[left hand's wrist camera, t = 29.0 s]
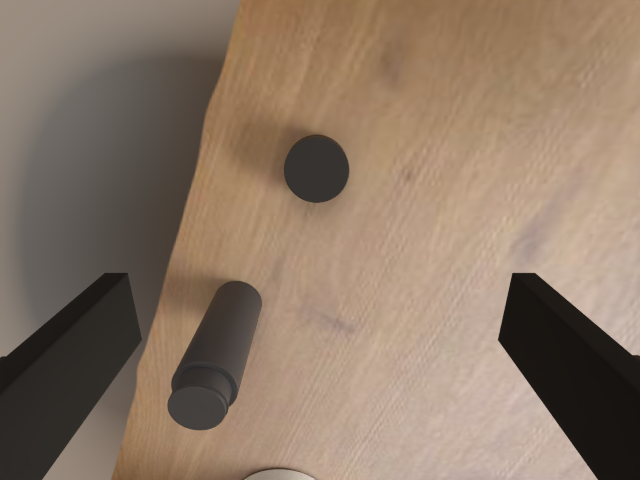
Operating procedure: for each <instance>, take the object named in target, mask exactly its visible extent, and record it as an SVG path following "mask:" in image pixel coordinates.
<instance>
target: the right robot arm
mask: <svg viewBox="0 0 640 480" xmlns="http://www.w3.org/2000/svg"><path fill="white" fill-rule="evenodd" d="M244 480H315V479H314V478H312V477H310V476H308V475H306V474H303V473H300V472H297V471H292V470H285V469H274V470H266V471H262V472H258V473H255V474H253V475H251V476H249V477H247V478H246V479H244Z"/></svg>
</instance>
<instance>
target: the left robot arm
mask: <svg viewBox="0 0 640 480" xmlns="http://www.w3.org/2000/svg"><path fill="white" fill-rule="evenodd" d="M141 341H142V338H141V333H140V328H139V324H138V319H137V315H136V310H135V305H134V301H133V296H132V292H131V287H130V283H129V278H128V273H104V274H103V275H102V276H101V277H100V278H99V279H97V280H96V281H95V282H94V283H93V284H91V285H90V286H89V287H88V288H87V289H86V290H84V291H83V292H82V293H81V294H80V295H78V296H77V297H76V298H75V299H74V300H73V301H71V302H70V303H69V304H68V305H67V306H65V307H64V308H63V309H62V310H61V311H60V312H58V313H57V314H56V315H55V316H54V317H52V318H51V319H50V320H49V321H48V322H47V323H45V324H44V325H43V326H42V327H41V328H39V329H38V330H37V331H36V332H35V333H33V334H32V335H31V336H30V337H29V338H28V339H26V340H25V341H24V342H23V343H22V344H21V345H19V346H18V347H17V348H16V349H15V350H13V351H12V352H11V353H10V354H9V355H7V356H6V357H1V358H0V480H42V479H43V477H44V476H45V475H46V473H47V472H48V471H49V469H50V468H51V466H52V465H53V464H54V462H55V461H56V459H57V458H58V457H59V455H60V454H61V452H62V451H63V450H64V448H65V447H66V445H67V444H68V443H69V441H70V440H71V438H72V437H73V436H74V434H75V433H76V431H77V430H78V429H79V427H80V426H81V424H82V423H83V422H84V420H85V419H86V417H87V416H88V415H89V413H90V412H91V410H92V409H93V408H94V406H95V405H96V403H97V402H98V401H99V399H100V398H101V396H102V395H103V394H104V392H105V391H106V390H107V388H108V387H109V385H110V384H111V383H112V381H113V380H114V378H115V377H116V375H117V374H118V373H119V371H120V370H121V369H122V367H123V366H124V364H125V363H126V362H127V360H128V359H129V357H130V356H131V355H132V353H133V352H134V350H135V349H136V348H137V346H138V345H139V343H140V342H141ZM498 341H499V342H500V343H501V345H502V346H503V348H504V349H505V350H506V352H507V353H508V355H509V356H510V357H511V359H512V360H513V362H514V363H515V364H516V366H517V367H518V369H519V370H520V371H521V373H522V374H523V376H524V377H525V378H526V380H527V381H528V383H529V384H530V385H531V387H532V388H533V390H534V391H535V392H536V394H537V395H538V397H539V398H540V399H541V401H542V402H543V403H544V405H545V406H546V408H547V409H548V410H549V412H550V413H551V415H552V416H553V417H554V419H555V420H556V422H557V423H558V424H559V426H560V427H561V429H562V430H563V431H564V433H565V434H566V436H567V437H568V438H569V440H570V441H571V443H572V444H573V445H574V447H575V448H576V450H577V451H578V452H579V454H580V455H581V457H582V458H583V459H584V461H585V462H586V464H587V465H588V466H589V468H590V469H591V471H592V472H593V473H594V475H595V476H596V478H597V479H598V480H640V356H639V355H631V354H630V353H629V352H628V351H627V350H625V349H624V348H623V347H622V346H621V345H620V344H618V343H617V342H616V341H615V340H614V339H612V338H611V337H610V336H609V335H608V334H607V333H605V332H604V331H603V330H602V329H601V328H599V327H598V326H597V325H596V324H595V323H593V322H592V321H591V320H590V319H589V318H588V317H586V316H585V315H584V314H583V313H582V312H580V311H579V310H578V309H577V308H576V307H575V306H573V305H572V304H571V303H570V302H569V301H567V300H566V299H565V298H564V297H563V296H562V295H560V294H559V293H558V292H557V291H556V290H554V289H553V288H552V287H551V286H550V285H549V284H547V283H546V282H545V281H544V280H543V279H541V278H540V277H539V276H538V275H537V274H536V273H512V278H511V282H510V287H509V292H508V296H507V301H506V305H505V310H504V315H503V319H502V324H501V328H500V333H499V338H498Z"/></svg>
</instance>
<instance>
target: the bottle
mask: <svg viewBox="0 0 640 480" xmlns="http://www.w3.org/2000/svg"><path fill="white" fill-rule="evenodd" d="M261 306H262V301H261V297H260V295H259V293H258V292H257V290H256V289H255V288H254V287H252V286H251V285H249V284H247V283H244V282H239V281H234V282H229V283H226V284H224V285H222V286H221V287H220V288H219V289H218V290H217V292H216V294H215V296H214V298H213V300H212V302H211V304H210V306H209V308H208V309H207V311H206V313H205V315H204V317H203V319H202V321H201V323H200V325H199V327H198V329H197V331H196V333H195V335H194V337H193V339H192V340H191V342H190V344H189V346H188V348H187V350H186V352H185V354H184V356H183V358H182V360H181V362H180V364H179V366H178V368H177V370H176V372H175V373H174V375H173V378H172V382H171V386H172V391H173V392H172V394H171V396H170V398H169V400H168V411H169V414H170V415H171V417H172V418H173V419H174V420H175V421H176V422H177V423H178V424H180V425H182V426H184V427H186V428H189V429H193V430H207V429H211V428H214V427H215V426H217V425H219V424H220V423H221V422H222V420H223V419H224V417H225V416H226V414H227V412H228V408H229V407H230V406H231V405H232V404H233V403H234V401H235V400H236V398H237V395H238V391H239V387H240V384H241V380H242V376H243V373H244V369H245V365H246V362H247V358H248V354H249V350H250V347H251V343H252V339H253V336H254V332H255V328H256V325H257V321H258V317H259V314H260V310H261Z"/></svg>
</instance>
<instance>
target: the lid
mask: <svg viewBox="0 0 640 480" xmlns="http://www.w3.org/2000/svg"><path fill="white" fill-rule="evenodd" d="M284 174H285V179H286V182H287V184H288V186H289V188H290V189H291V191H292V192H293V193H294V194H295V195H297V196H298V197H299V198H301V199H303V200H305V201H309V202H314V203H319V202H325V201H328V200H331V199H332V198H334V197H336V196H337V195H338V194H339V193H340V192H341V191H342V190H343V189H344V187H345V185H346V183H347V181H348V177H349V164H348V160H347V157H346V155H345V152H344V151H343V149H342V148H341V146H340V145H339V144H338V143H337V142H336V141H334V140H333V139H331V138H329V137H326V136H322V135H311V136H307V137H305V138H303V139H301V140H299V141H298V142H297V143H296V144H295V145H294V146H293V147H292V148H291V150H290V152H289V154H288V156H287V158H286V161H285V166H284Z"/></svg>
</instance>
